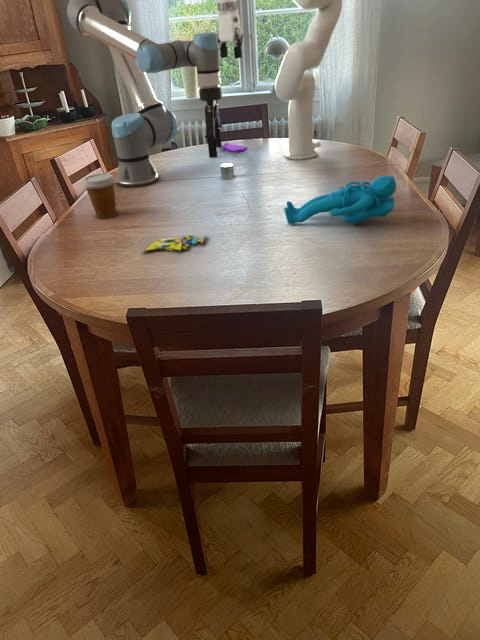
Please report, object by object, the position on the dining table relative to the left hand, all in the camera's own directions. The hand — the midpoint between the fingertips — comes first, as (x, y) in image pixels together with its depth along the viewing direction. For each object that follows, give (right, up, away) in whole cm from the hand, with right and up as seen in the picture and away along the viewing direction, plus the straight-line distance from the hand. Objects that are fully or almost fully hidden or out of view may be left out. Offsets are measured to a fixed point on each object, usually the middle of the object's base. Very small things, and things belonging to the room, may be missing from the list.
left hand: (215, 152), depth 171 cm
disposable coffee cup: (-34, -26, -16) cm, 46 cm away
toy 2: (+36, -32, -36) cm, 61 cm away
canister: (+4, -6, +8) cm, 11 cm away
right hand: (+5, +48, +25) cm, 54 cm away
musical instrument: (+1, +15, +42) cm, 45 cm away
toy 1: (-9, -40, -41) cm, 58 cm away
